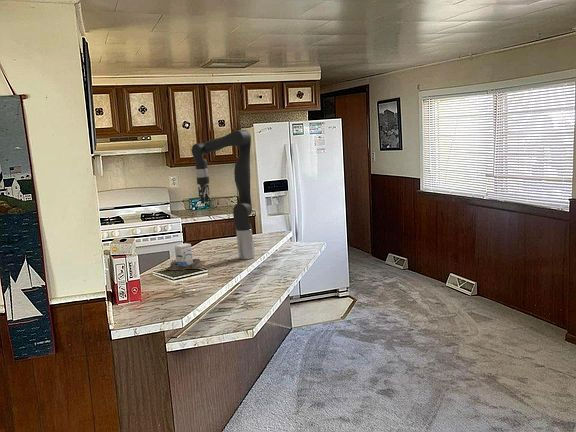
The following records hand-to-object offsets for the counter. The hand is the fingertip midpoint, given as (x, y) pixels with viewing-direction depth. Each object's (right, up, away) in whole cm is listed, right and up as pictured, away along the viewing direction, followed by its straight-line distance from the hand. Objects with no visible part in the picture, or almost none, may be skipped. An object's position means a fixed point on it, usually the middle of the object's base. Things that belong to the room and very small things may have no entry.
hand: (205, 202), depth 325 cm
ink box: (-8, -37, -21) cm, 43 cm away
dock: (-7, -37, -22) cm, 44 cm away
